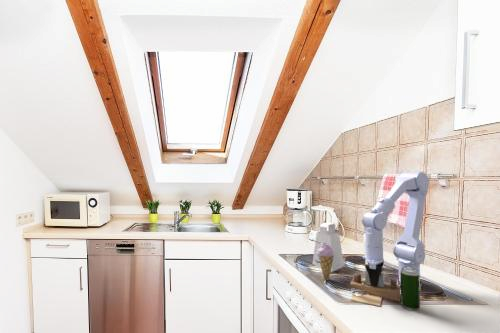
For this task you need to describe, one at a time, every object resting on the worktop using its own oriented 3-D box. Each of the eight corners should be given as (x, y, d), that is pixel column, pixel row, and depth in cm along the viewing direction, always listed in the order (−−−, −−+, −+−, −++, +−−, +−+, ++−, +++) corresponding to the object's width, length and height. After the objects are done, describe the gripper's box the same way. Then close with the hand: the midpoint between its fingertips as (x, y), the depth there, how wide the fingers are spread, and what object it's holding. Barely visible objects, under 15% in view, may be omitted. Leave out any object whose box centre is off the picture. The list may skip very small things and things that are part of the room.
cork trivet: (354, 293, 100) (354, 291, 100) (381, 298, 95) (381, 297, 96) (351, 300, 94) (351, 299, 94) (380, 306, 89) (380, 305, 89)
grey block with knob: (366, 280, 104) (366, 268, 104) (384, 283, 101) (384, 271, 101) (365, 284, 100) (365, 272, 100) (383, 288, 97) (383, 274, 97)
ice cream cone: (323, 283, 109) (323, 245, 109) (314, 278, 114) (313, 241, 115) (337, 280, 112) (336, 243, 112) (326, 275, 117) (326, 240, 118)
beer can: (404, 310, 87) (404, 272, 87) (398, 302, 92) (397, 266, 93) (423, 311, 86) (422, 273, 87) (415, 303, 92) (415, 267, 92)
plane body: (353, 285, 107) (353, 271, 107) (400, 293, 99) (399, 278, 100) (350, 291, 101) (350, 276, 101) (399, 301, 93) (399, 285, 93)
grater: (312, 266, 130) (311, 223, 130) (324, 261, 137) (324, 221, 137) (332, 271, 122) (331, 226, 123) (344, 266, 129) (343, 223, 130)
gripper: (365, 240, 109) (365, 274, 109) (359, 248, 96) (360, 288, 96) (384, 242, 106) (385, 278, 105) (382, 251, 93) (382, 292, 93)
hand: (374, 283), depth 100 cm, fingers closed on grey block with knob, 4 cm apart
